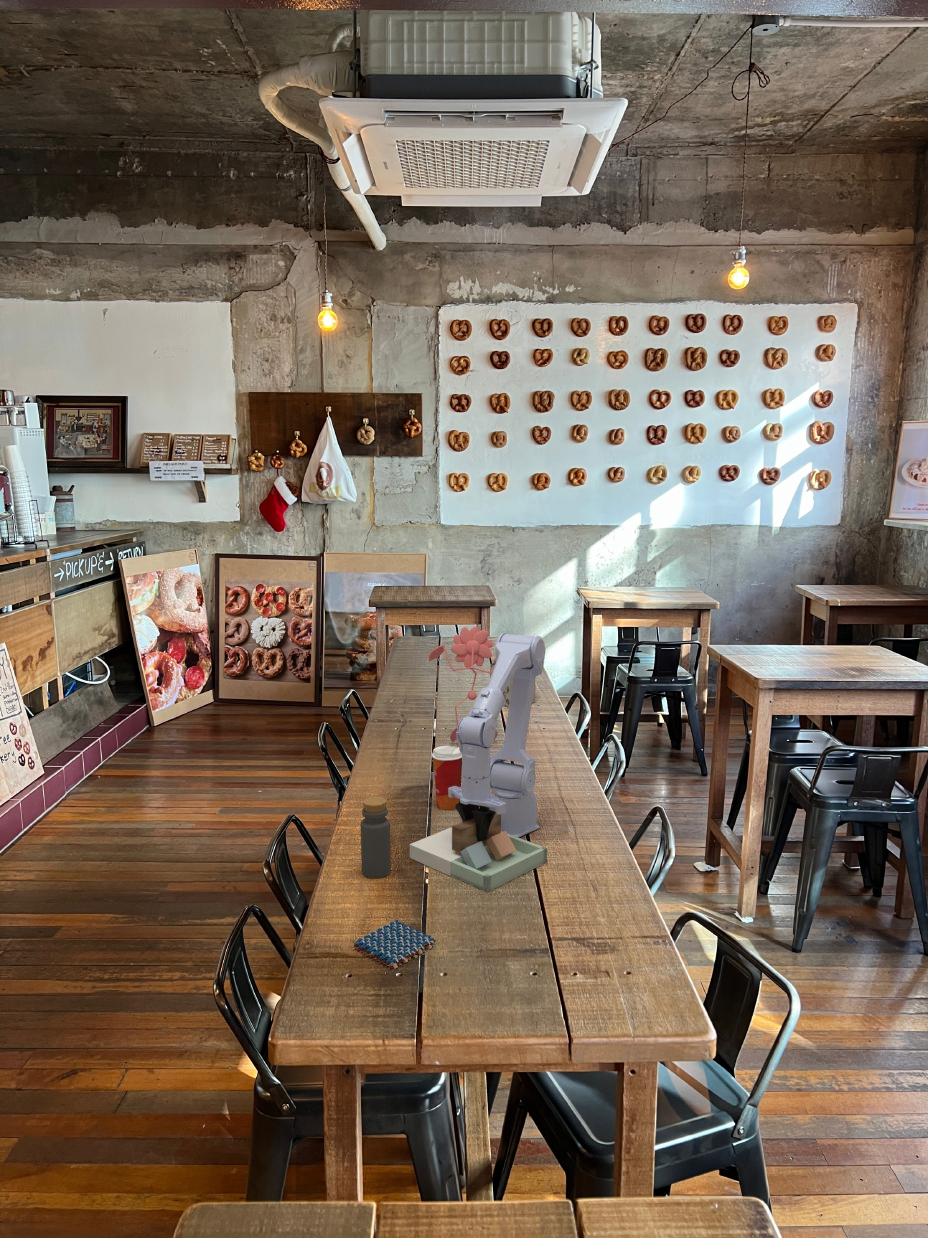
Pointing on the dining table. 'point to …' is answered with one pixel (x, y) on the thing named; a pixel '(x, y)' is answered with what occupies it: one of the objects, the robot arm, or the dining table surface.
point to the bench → (438, 851)
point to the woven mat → (394, 944)
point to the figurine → (467, 657)
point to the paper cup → (447, 774)
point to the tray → (502, 866)
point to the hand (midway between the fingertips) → (476, 838)
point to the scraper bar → (472, 833)
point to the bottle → (375, 838)
